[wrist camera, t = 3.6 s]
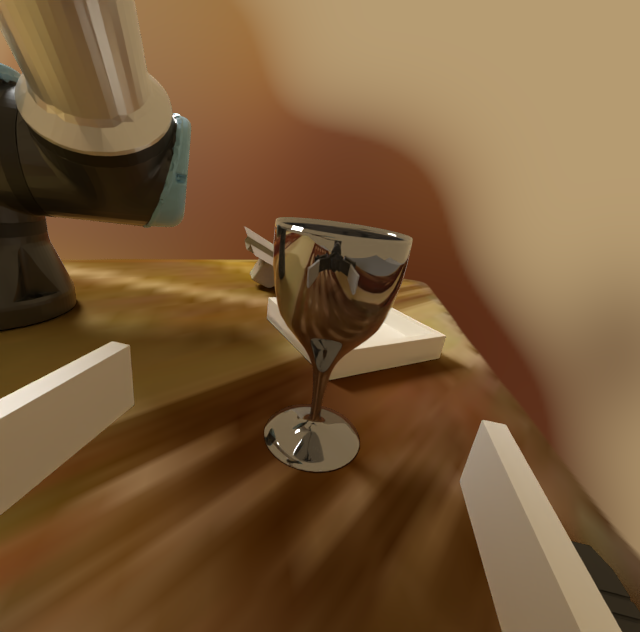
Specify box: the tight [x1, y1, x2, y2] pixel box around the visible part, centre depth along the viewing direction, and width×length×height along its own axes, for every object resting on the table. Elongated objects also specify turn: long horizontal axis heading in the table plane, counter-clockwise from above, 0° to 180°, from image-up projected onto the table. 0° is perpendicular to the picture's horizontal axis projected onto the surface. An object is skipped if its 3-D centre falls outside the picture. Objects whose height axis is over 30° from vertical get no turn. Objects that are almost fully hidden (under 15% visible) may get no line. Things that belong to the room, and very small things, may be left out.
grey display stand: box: [245, 227, 274, 288], centre depth 59 cm, size 16×9×15 cm
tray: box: [267, 297, 446, 380], centre depth 41 cm, size 16×16×3 cm
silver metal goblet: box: [264, 217, 412, 472], centre depth 22 cm, size 8×8×15 cm
